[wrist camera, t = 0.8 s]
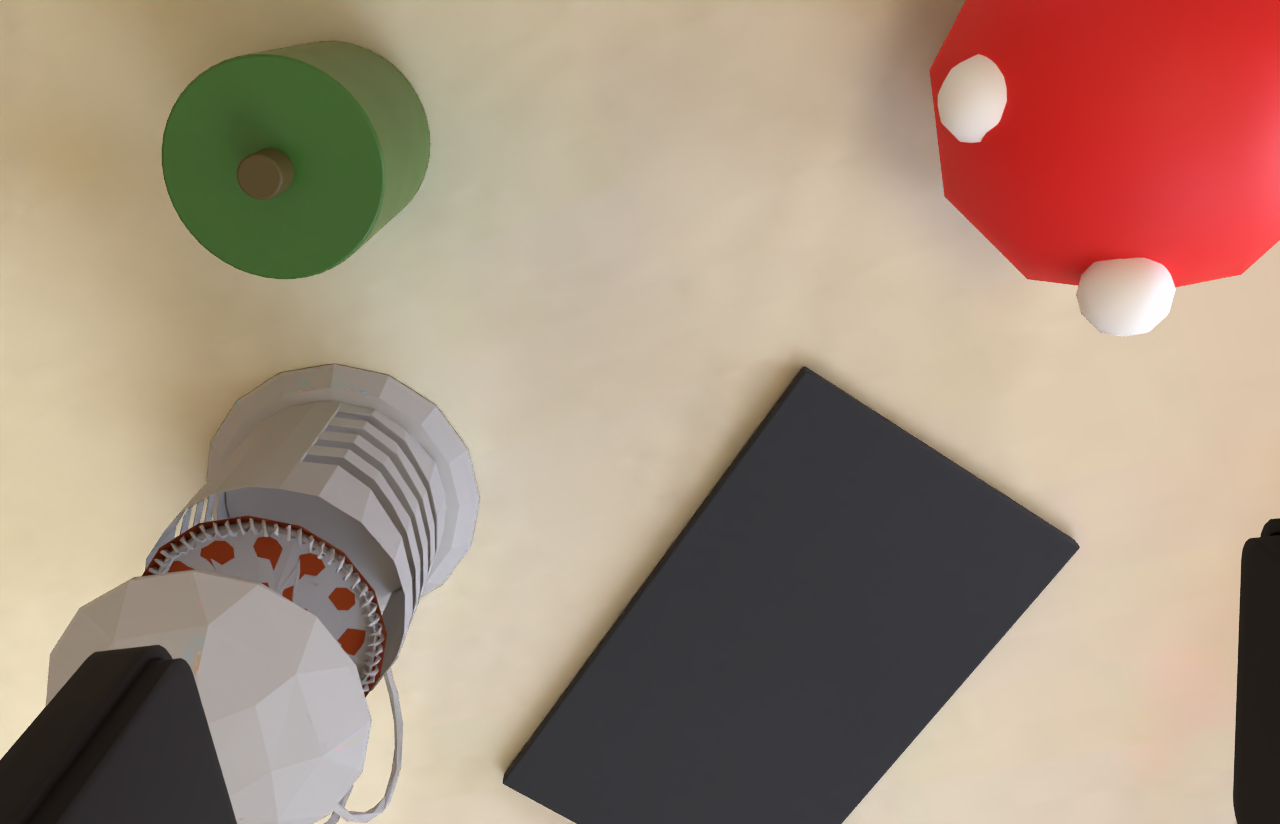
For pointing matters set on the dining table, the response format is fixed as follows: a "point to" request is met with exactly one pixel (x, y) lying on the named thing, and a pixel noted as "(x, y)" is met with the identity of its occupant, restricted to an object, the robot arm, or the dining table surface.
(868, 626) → the mat
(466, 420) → the dining table surface
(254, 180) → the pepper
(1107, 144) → the mushroom
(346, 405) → the french press
